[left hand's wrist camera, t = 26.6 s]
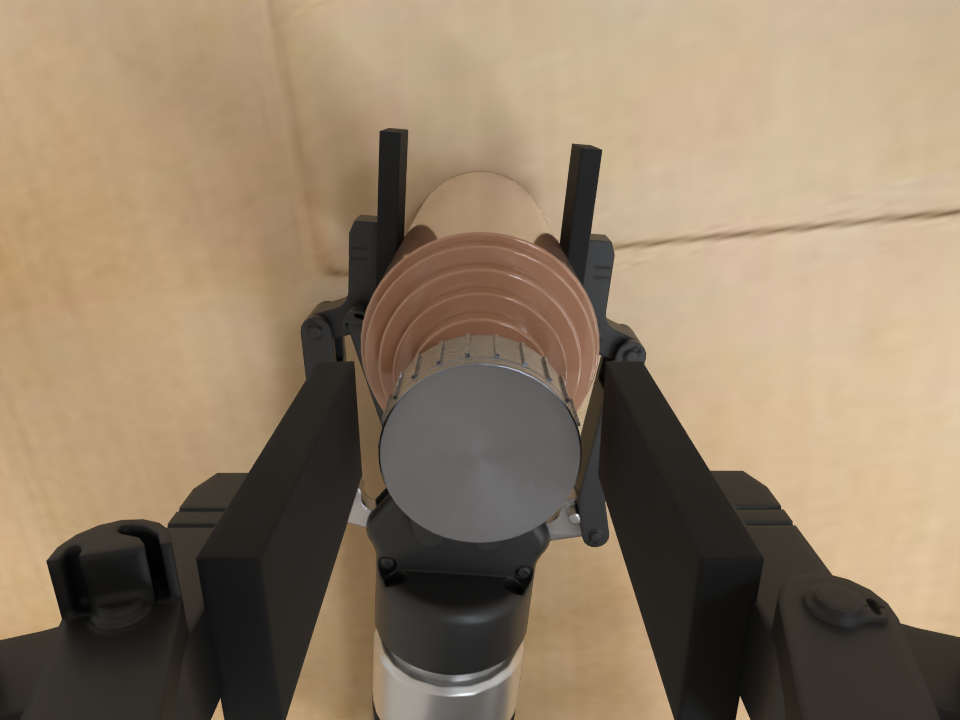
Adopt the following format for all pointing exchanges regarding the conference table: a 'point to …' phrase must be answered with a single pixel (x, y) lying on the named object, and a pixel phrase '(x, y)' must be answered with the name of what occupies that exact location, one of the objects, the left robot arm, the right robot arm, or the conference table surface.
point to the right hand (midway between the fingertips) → (490, 139)
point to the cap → (480, 440)
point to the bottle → (480, 285)
